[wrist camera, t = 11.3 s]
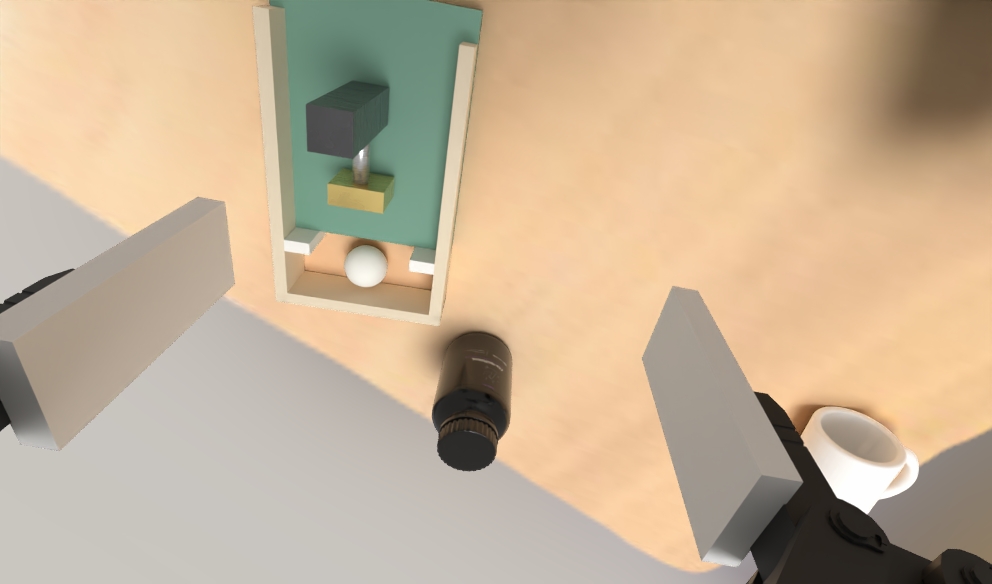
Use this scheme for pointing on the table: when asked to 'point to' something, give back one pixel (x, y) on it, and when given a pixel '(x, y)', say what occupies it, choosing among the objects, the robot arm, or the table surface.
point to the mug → (859, 456)
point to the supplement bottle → (473, 401)
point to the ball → (365, 266)
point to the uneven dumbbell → (351, 142)
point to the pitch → (393, 152)
